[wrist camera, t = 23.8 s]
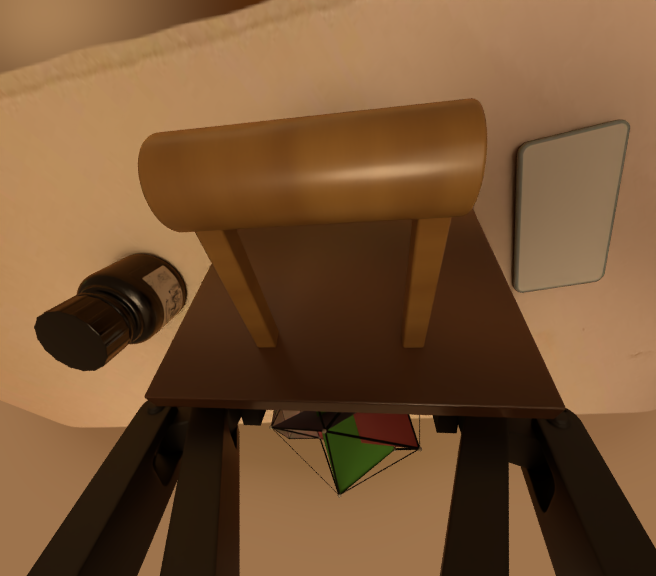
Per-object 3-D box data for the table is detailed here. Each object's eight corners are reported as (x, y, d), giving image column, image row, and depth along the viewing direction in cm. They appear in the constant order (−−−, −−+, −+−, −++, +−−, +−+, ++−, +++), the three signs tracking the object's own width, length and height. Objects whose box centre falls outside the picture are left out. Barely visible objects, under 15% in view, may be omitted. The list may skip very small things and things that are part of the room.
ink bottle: (183, 326, 40) (117, 393, 29) (119, 303, 40) (29, 364, 29) (192, 264, 36) (119, 318, 25) (121, 238, 35) (15, 281, 24)
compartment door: (554, 420, 8) (909, 129, 3) (155, 406, 10) (-116, 211, 5) (444, 164, 20) (472, 1, 14) (262, 179, 21) (221, 39, 16)
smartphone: (515, 294, 32) (519, 144, 25) (511, 290, 33) (514, 144, 26) (604, 281, 30) (634, 116, 24) (598, 277, 31) (624, 117, 24)
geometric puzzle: (402, 472, 8) (306, 551, 13) (489, 389, 13) (397, 468, 17) (279, 302, 12) (237, 408, 16) (381, 285, 17) (327, 371, 21)
